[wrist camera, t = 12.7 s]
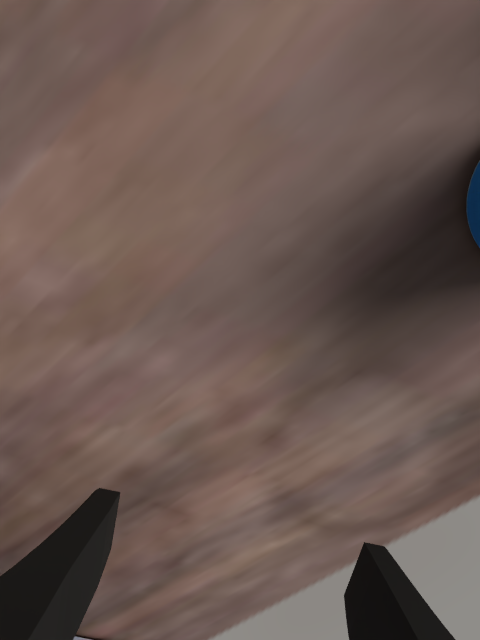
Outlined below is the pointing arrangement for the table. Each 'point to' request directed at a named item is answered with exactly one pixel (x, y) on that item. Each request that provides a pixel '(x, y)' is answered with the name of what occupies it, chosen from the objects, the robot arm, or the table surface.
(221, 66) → the table surface
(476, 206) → the beverage can
